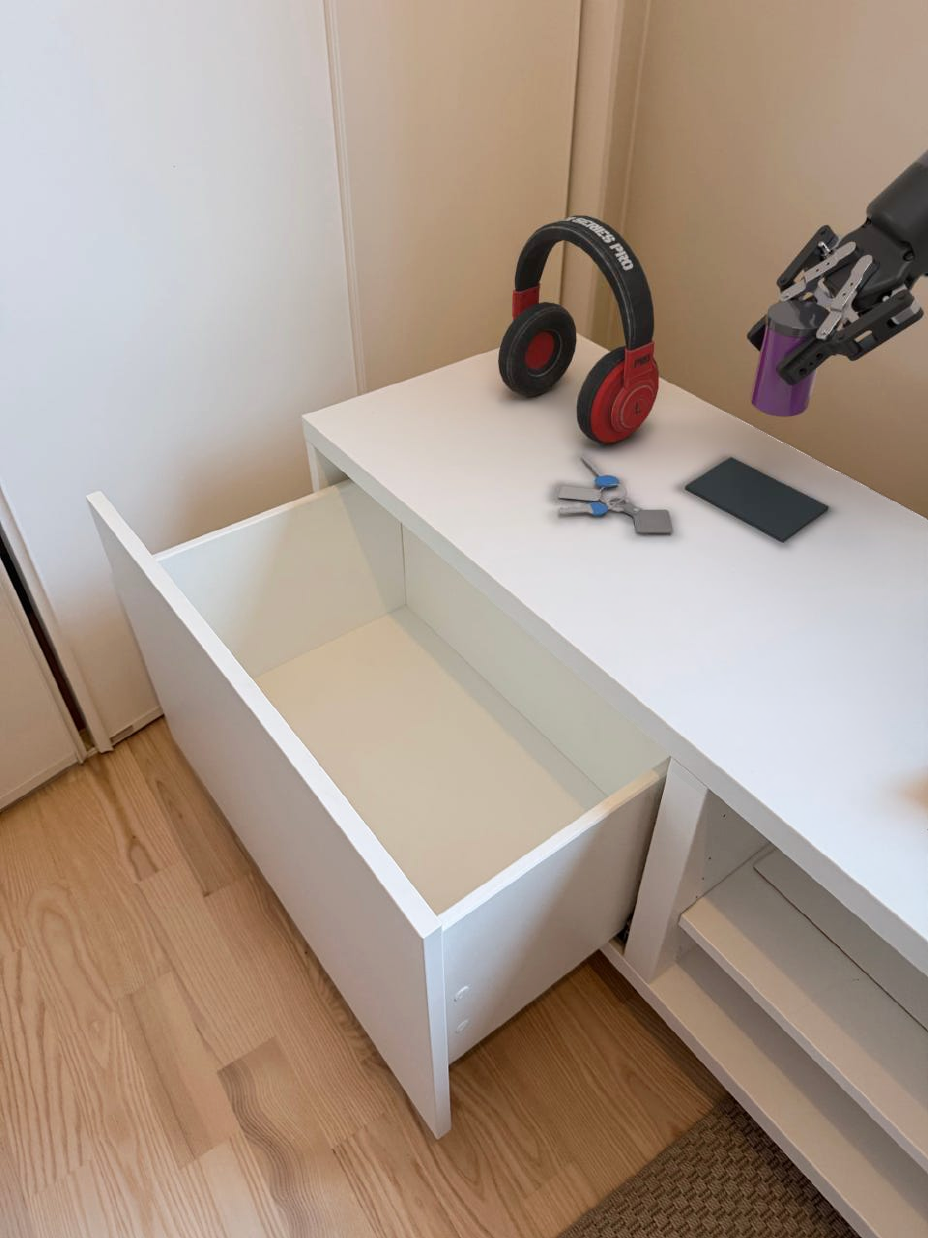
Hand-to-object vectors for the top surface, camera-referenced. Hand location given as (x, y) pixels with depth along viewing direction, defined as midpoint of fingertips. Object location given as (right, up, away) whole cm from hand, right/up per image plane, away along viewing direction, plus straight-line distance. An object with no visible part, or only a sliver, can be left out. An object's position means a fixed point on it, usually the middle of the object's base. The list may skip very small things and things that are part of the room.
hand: (768, 360), depth 77 cm
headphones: (-14, 0, +22) cm, 26 cm away
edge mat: (+2, -10, +10) cm, 15 cm away
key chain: (-12, -11, +10) cm, 19 cm away
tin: (+2, -3, +3) cm, 4 cm away
